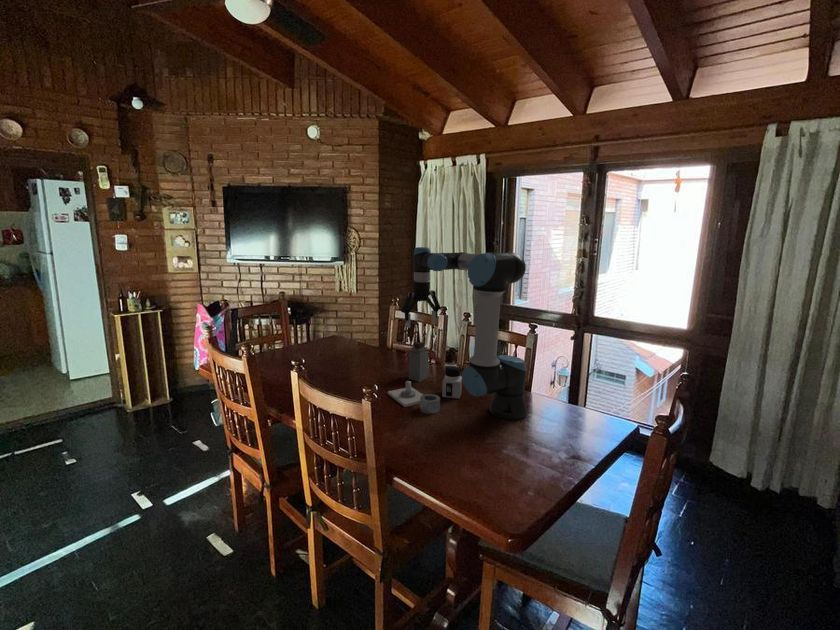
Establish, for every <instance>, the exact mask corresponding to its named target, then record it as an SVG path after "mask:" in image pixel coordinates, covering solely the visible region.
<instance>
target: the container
mask: <svg viewBox="0 0 840 630" xmlns="http://www.w3.org/2000/svg"><path fill="white" fill-rule="evenodd" d="M444 374H445V375H444V378H443V379H442V390H441V391H442V393H441V394H442V396H441V397H443V398H452V399H460V398H461V395H462V392H463V391H462V387H463V386H462V385H463V380H462V375H461V367H459V366H458V365H447V366H446V367H445V371H444Z"/></svg>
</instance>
